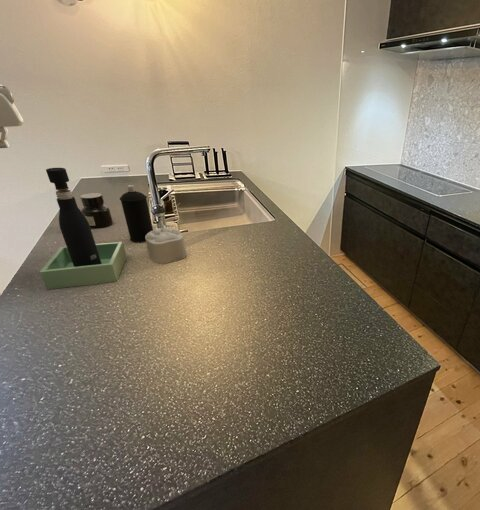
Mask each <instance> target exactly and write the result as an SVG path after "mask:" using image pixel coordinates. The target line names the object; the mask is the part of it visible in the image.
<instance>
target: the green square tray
mask: <svg viewBox="0 0 480 510" xmlns="http://www.w3.org/2000/svg"><path fill="white" fill-rule="evenodd" d="M95 244H96V247H97V250H98V254H99V257H100V260H101V263H102V264H98V265H88V266H79V267H74V265H73V263H72V260H71V257H70V254H69V251H68V249H67V246H66V245H65V246H59V248H58V250H56V252H55V253H54V254H53V255H52V257H50V259H49V260H48V261H47V262H46V264H45V265H44V266H43V268H42V269H40V271H39V274H40V277H41V279H42V281H43V284H44V285H45V288H46V290H47V291H48V290H55V289H56V290H57V289H63V288H72V287H73V288H74V287H80V286H88V285H89V286H90V285H96V284H105V283H113V282H114V283H115V282H118V280H119V278H120V275H121V272H122V269H123V267H124V265H125V262H126V260H127V257H128V256H127V253H126V250H125V245H124V242H123V241H115V242H104V243H103V242H101V243H95Z"/></svg>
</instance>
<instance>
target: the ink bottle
mask: <svg viewBox="0 0 480 510" xmlns="http://www.w3.org/2000/svg"><path fill="white" fill-rule="evenodd" d="M79 199H80V202H81V204H82V206H83V208H81V209H80V210H81V212H82V213H83V214H84V216H85V217H86V219H87V221H88V222H89V225H90V228H91V229H101V228H105V227H108V226H109V227H110V226H111V225H112V224H113V223H114V221H113V217H112V214H111V211H110V208H109V206H107V205H106V204H105V200H104V197H103V194H102V193H99V192H98V193H97V192H92V193H91V192H90V193H85V194H84V193H83V194H81V195H80V196H79Z"/></svg>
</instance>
